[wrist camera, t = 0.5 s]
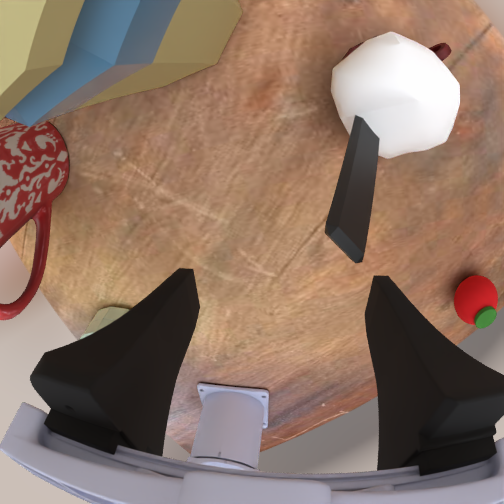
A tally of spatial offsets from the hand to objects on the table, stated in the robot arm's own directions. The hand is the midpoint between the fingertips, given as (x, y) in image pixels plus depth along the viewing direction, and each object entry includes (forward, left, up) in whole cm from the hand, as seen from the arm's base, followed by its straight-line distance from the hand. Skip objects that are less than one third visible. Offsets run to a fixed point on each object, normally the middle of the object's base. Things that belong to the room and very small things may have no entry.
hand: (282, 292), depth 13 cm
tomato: (-7, -16, -10) cm, 20 cm away
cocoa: (+7, -5, -10) cm, 13 cm away
